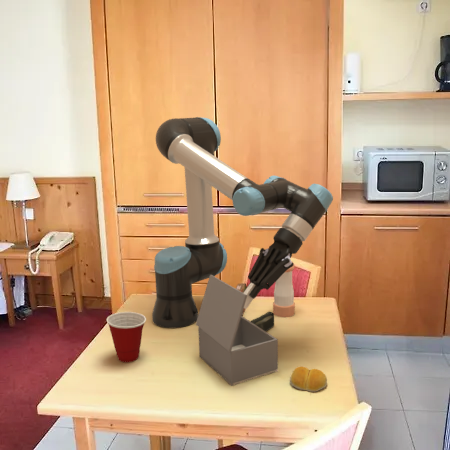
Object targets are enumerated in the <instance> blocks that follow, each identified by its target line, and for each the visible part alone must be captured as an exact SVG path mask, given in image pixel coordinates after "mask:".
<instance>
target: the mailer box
mask: <svg viewBox="0 0 450 450" xmlns="http://www.w3.org/2000/svg"><path fill="white" fill-rule="evenodd" d="M250 321H251V320H249V319H247V318H246V317H244V315H241V319H240V322H239V326H238V329H237V333H236V336H235V339H234V343H233V346H232V350H231V351H228V350H227V349H226V348H224V347H223V346H222V345H221V344H219V343H218V342H217V341H216V340H214V339H213V338H212V337H211V336H209V335H208V334H207V333H206V332H204V331H203V330H202V329H201V328H199V327H198V326H197V327H198V353H199V358H200V359H201V360H202V361H203V362H204V363H206V365H208V366H209V367H210V369H212V370H213V371H214V372H216V374H218V376H220V377H221V378H222V379H223V380H224V381H225V382H226V383H228V385H230V386H231V387H232V386H236V385H239V384H242V383H245V382H247V381H248V382H249V381H251V380H254V379H256V378H260V377H264V376H266V375H270V374H273V373H276V372H278V371H279V367H278V365H279V361H278V360H279V358H278V357H279V356H278V355H279V350H278V346H279V343H278V342H279V339H278V338H276V337H275V336H274V335H272V334H270V333H268V332H267V331H264V330H262V329H261V328H259V327H258V326H256V325H255V324H253V323H252V322H250Z"/></svg>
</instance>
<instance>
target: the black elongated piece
mask: <svg viewBox="0 0 450 450" xmlns="http://www.w3.org/2000/svg"><path fill="white" fill-rule="evenodd" d="M249 321H250V322H252V323H253V324H255V325H256V326H258V327H259V328H261V329H262V330H264V331H266V332H267V331H269V330H271V329H272V328H273V327H274V326H275V315H274V313H273V311H268V312H266V313H264V314H262V315H260V316H258V317H256V318H254V319H252V320H249Z"/></svg>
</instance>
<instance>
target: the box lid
mask: <svg viewBox="0 0 450 450" xmlns="http://www.w3.org/2000/svg"><path fill="white" fill-rule="evenodd" d="M204 291H205V292H204V295H203V299H202V302H201V304H200V309H199V311H198V318H197V321H196V322H195V326H197V327H199V328H201V329H202V330H203V331H204V332H206V333H207V334H208V335H209V336H211V337H212V338H213V339H214V340H216V341H217V342H218V343H219V344H221V345H222V346H223V347H224V348H226V349H227V350H228V351H231V350H232V346H233V343H234V339H235V336H236V333H237V329H238V326H239V322H240V319H241V316H243V315H242V312H243V309H244V305H245V302H246V298H247V295H246V294H244V293H242V292H240V291H239V290H237V289H236V287H234V286H232V285H230V284H228V283H226V282H224V281H223V280H221V279H220V278H218V277H216V276H213V275H210V277H209V278H208V280H207V284H206V287H205V290H204Z"/></svg>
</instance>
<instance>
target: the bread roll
mask: <svg viewBox="0 0 450 450" xmlns="http://www.w3.org/2000/svg"><path fill="white" fill-rule="evenodd" d="M327 383H328V379H327V376H326V373H324V372H323V371H322V370H320V369H318V368H311V369H309V368H307V367H306V366H301V365H300V366H297V367H295V368H294V370H292V372H291V374H290V376H289V384H290V385H291V386H292V387H294V388H295V389H297V390H301V391H307V392H313V393H316V392H319V391H321V390H323V389H325V388H326V386H327V385H328V384H327Z"/></svg>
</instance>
